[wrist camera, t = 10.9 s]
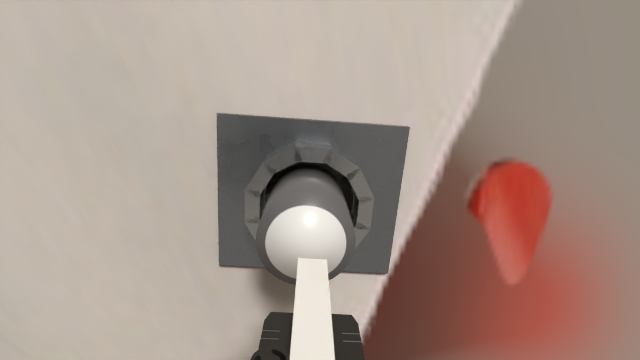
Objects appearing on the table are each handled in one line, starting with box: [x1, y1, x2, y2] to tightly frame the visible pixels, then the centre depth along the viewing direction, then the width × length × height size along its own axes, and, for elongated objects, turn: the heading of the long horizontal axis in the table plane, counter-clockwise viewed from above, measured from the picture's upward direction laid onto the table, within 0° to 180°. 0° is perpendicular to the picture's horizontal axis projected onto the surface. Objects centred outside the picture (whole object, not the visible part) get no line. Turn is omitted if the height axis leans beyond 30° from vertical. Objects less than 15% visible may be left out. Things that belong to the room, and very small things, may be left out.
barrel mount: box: [217, 113, 410, 273], centre depth 28 cm, size 16×14×3 cm
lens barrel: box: [256, 164, 356, 285], centre depth 25 cm, size 6×6×8 cm
